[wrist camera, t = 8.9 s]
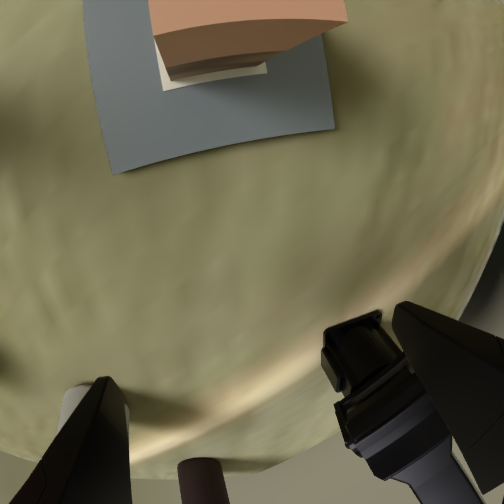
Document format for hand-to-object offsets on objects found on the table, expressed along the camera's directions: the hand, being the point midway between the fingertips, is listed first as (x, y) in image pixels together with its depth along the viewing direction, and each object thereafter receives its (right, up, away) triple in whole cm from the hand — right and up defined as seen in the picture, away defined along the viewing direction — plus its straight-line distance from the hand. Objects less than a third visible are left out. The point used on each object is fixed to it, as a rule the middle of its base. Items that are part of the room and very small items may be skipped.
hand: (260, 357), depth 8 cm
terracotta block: (-2, +13, 0) cm, 13 cm away
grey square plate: (-3, +16, +6) cm, 17 cm away
